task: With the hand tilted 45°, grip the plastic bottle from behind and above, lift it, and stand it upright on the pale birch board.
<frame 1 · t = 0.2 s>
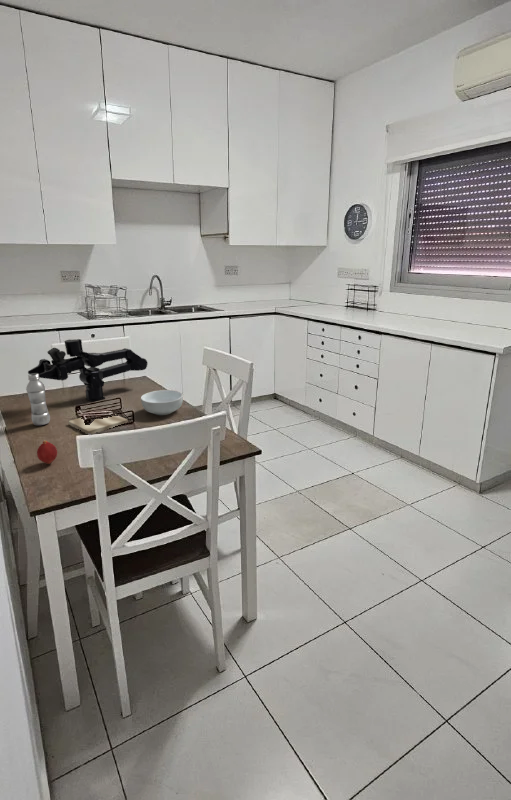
hand: (33, 374, 188), 17 cm above the table, tool horizontal, fingers open, 9 cm apart
plastic bottle: (42, 424, 180), on the table
onion: (49, 464, 147), on the table
birch board: (98, 424, 180), on the table
cereal bowl: (163, 412, 192), on the table
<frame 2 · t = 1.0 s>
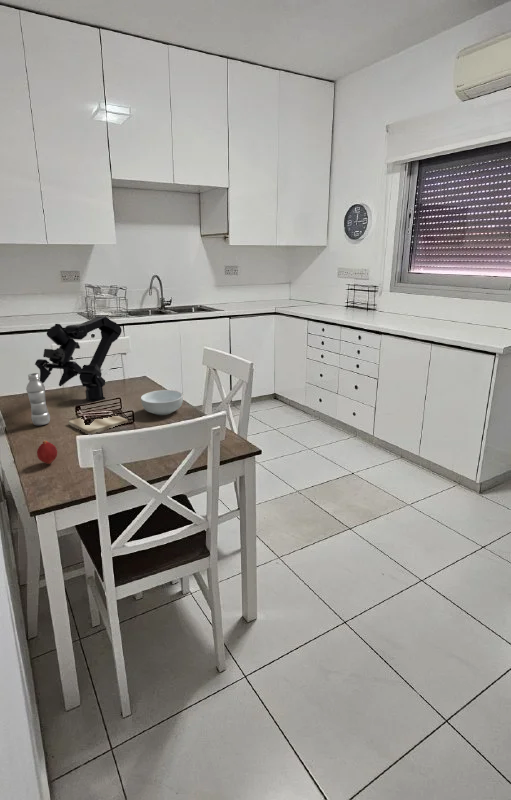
hand: (50, 384, 183), 14 cm above the table, tool tilted 45°, fingers open, 9 cm apart
nothing on the table moved.
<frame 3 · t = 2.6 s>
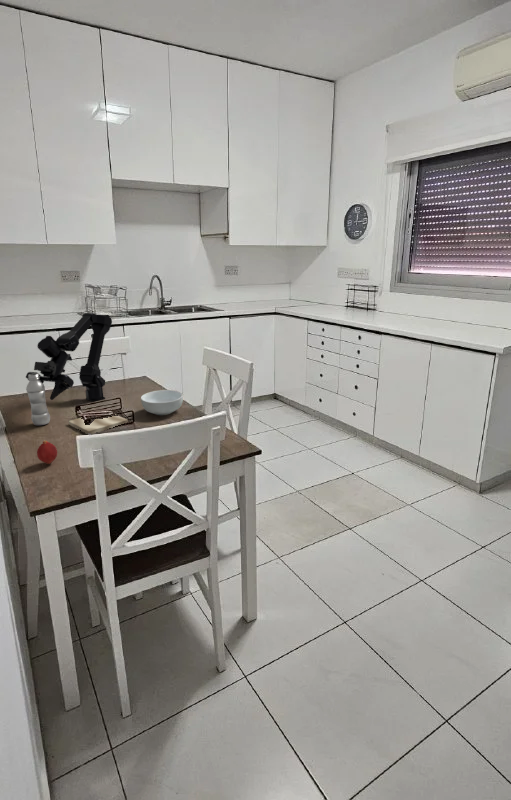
hand: (41, 398, 179), 10 cm above the table, tool tilted 45°, fingers open, 9 cm apart
nothing on the table moved.
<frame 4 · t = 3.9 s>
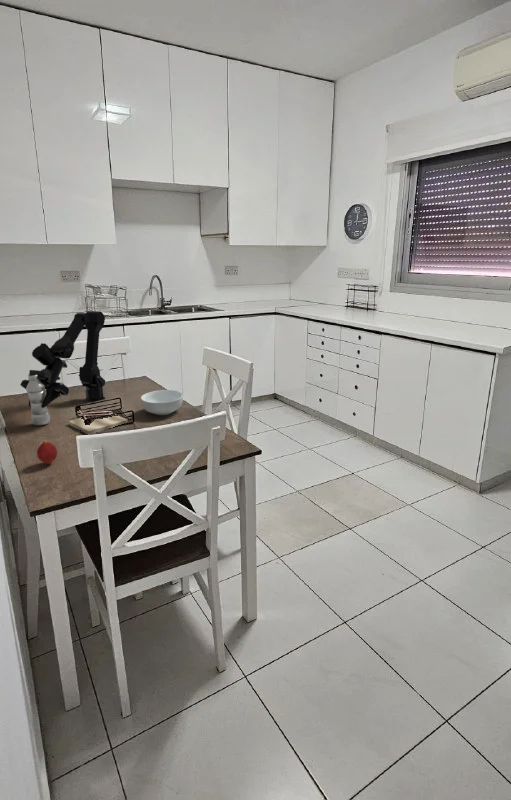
hand: (36, 406, 177), 8 cm above the table, tool tilted 45°, fingers closed on plastic bottle, 6 cm apart
plastic bottle: (41, 424, 180), on the table, touching gripper
everything else where it was.
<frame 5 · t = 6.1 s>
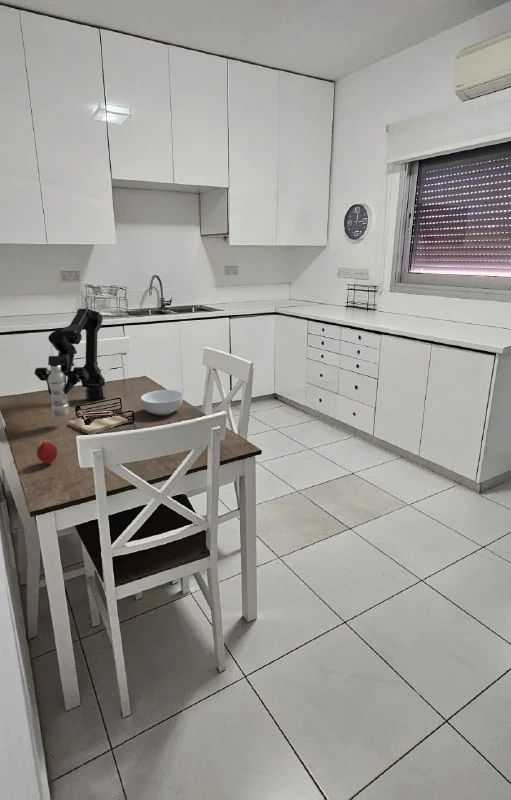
hand: (57, 393, 173), 13 cm above the table, tool tilted 45°, fingers closed on plastic bottle, 5 cm apart
plastic bottle: (61, 415, 178), point 4 cm above the table, touching gripper
everything else where it was.
when the fingers open (10 cm above the table, at t = 8.3 s): plastic bottle stays where it is, resting on birch board.
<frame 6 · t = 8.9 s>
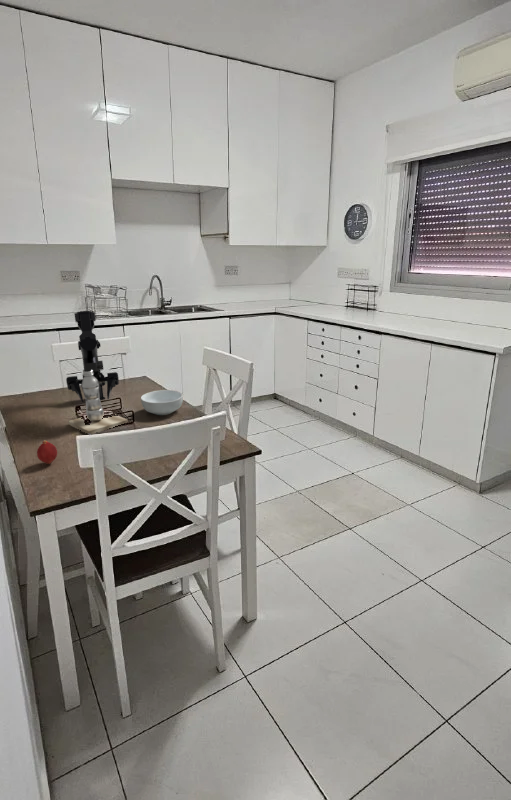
hand: (95, 400, 175), 10 cm above the table, tool tilted 45°, fingers open, 9 cm apart
plastic bottle: (96, 420, 179), point 1 cm above the table, touching birch board, gripper
everything else where it was.
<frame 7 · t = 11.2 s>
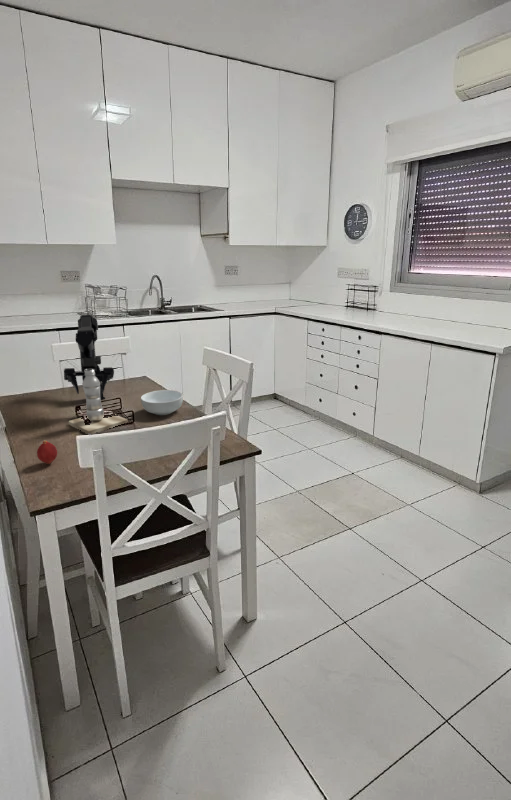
hand: (90, 393, 184), 10 cm above the table, tool tilted 40°, fingers open, 9 cm apart
plastic bottle: (96, 420, 179), point 1 cm above the table, touching birch board
everything else where it was.
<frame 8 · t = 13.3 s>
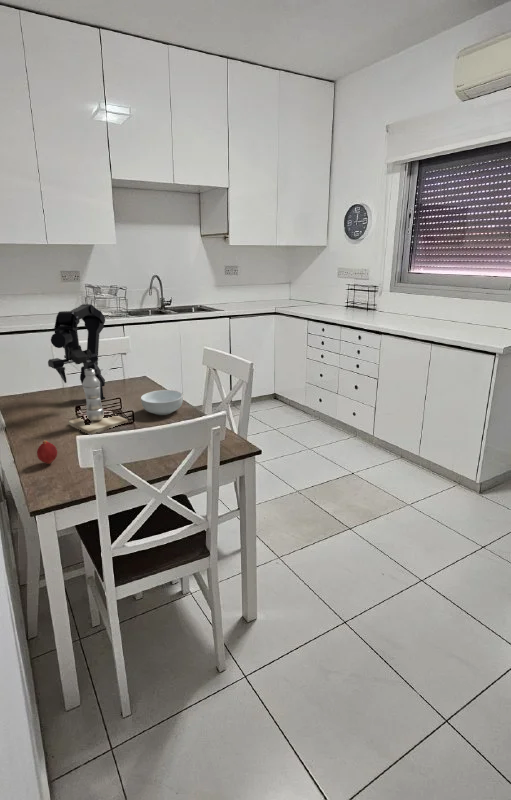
hand: (76, 380, 192), 13 cm above the table, tool pointing down, fingers open, 9 cm apart
nothing on the table moved.
at the end: plastic bottle inside the target area on the birch board (1.0 cm from its centre), point 1.3 cm above the birch board's base; plastic bottle tilted 0°; the gripper is holding nothing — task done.
